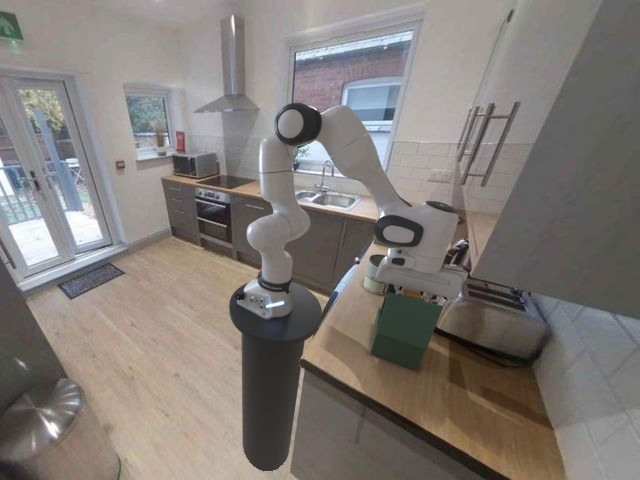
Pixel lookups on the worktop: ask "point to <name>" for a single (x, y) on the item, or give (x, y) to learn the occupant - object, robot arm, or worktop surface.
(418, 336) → the green flat square panel
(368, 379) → the worktop surface
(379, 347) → the chest
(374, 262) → the coffee can
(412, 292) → the block
